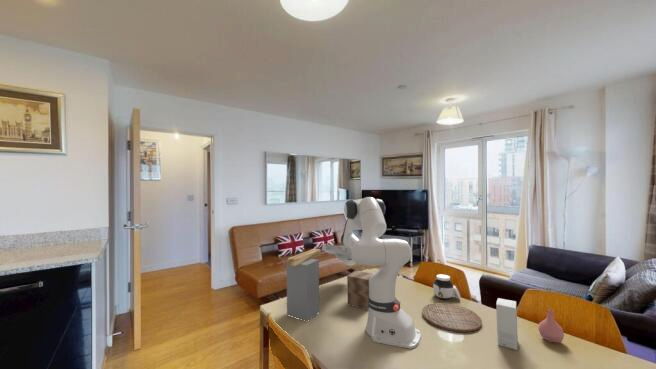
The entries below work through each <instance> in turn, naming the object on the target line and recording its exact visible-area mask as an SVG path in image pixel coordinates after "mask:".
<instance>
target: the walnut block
mask: <svg viewBox="0 0 656 369" xmlns="http://www.w3.org/2000/svg"><path fill="white" fill-rule="evenodd" d="M373 274H374V273H372V272H366V271H361V270H354V271H352V272H351V273H349V274H348V275H347V278H346V279H347V282H346V283H347V286H346V287H347V288H346V290H347V291H346V292H347V305H348V304H350V305H349V306H351V305H354V306H353V307H355V306H358V307H357V308H359V307H361V308H360V309H363V308H365V309H364V310H367V309H368V296H369V279H370V277H371V276H372V275H373ZM368 311H369V309H368Z"/></svg>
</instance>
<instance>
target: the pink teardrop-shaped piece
mask: <svg viewBox="0 0 656 369" xmlns="http://www.w3.org/2000/svg"><path fill="white" fill-rule="evenodd" d="M538 331H539V334H540V335H539V336H541V337H542V338H543V339H545V340H547V341H548V342H549V343H561V342H563V339H564V337H565V333H564V329H563V327H562V326H561V325H559V323H558V322H557V321H556V319H555V317H554V310H553V309H550V308H548V309H547V316H546V318H545V319H543V320H542V321H540V322H539V324H538Z"/></svg>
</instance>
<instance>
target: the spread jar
mask: <svg viewBox="0 0 656 369" xmlns="http://www.w3.org/2000/svg"><path fill="white" fill-rule="evenodd" d="M432 288H433V290H432V291H433V294H434V295H435V297H436V298H437V299H439V300H443V301H449V300H451V299H452V298H453V297H455V298H456V300H458V299H460V298H461V294H460V291H459V290H458V288H457V286H456V285H454V284H453V282H452V281H451V276H450V275H447V274H441V273H439V274H437V275H436V278H435V279H434V281H433V286H432Z"/></svg>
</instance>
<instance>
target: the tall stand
mask: <svg viewBox="0 0 656 369" xmlns="http://www.w3.org/2000/svg"><path fill="white" fill-rule="evenodd" d="M319 270H320V260H319V259H316V258H313V259H310V260H308V261H306V262H303V263H301V264H299V265H296V266H291V265H288V260H287V261H286V316H287V315H290V316H293V317H296V318H299V319H302V320H305V321H308V320H310V319H311V318H312V317H313V316H314V315H316V314H317V313H318V312H319V313H320V271H319ZM316 316H317V315H316ZM312 319H313V318H312ZM312 319H311V320H312ZM302 320H301V321H302ZM311 320H310V321H311ZM305 321H304V322H305Z"/></svg>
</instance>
